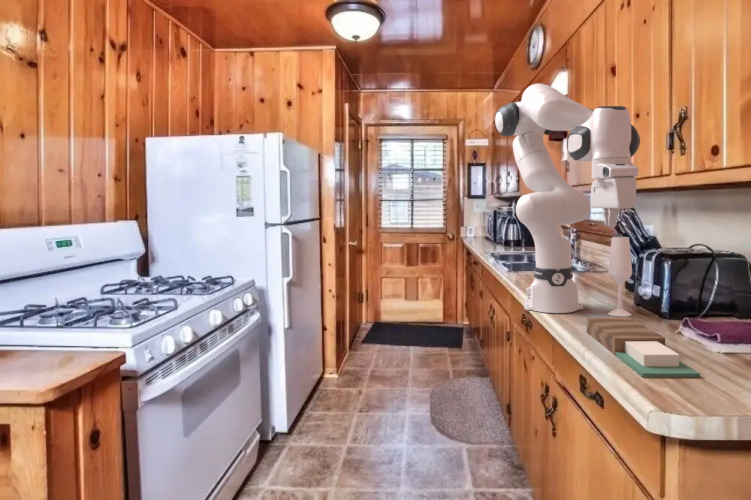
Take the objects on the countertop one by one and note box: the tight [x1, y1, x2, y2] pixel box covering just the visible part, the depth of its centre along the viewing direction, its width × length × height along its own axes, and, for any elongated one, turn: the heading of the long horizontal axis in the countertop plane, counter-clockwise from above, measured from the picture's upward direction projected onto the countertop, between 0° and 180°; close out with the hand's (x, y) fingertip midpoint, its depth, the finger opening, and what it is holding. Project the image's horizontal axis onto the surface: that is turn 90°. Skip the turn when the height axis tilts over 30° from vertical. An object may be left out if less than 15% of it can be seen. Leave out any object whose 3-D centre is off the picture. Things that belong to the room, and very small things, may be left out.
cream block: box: [625, 341, 680, 366], centre depth 106 cm, size 10×7×2 cm
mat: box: [615, 352, 701, 378], centre depth 104 cm, size 14×11×1 cm
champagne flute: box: [607, 236, 633, 317], centre depth 150 cm, size 7×7×24 cm
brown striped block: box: [586, 316, 666, 356], centre depth 121 cm, size 20×11×4 cm, turn 174°
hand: (610, 226), depth 122 cm, fingers closed
